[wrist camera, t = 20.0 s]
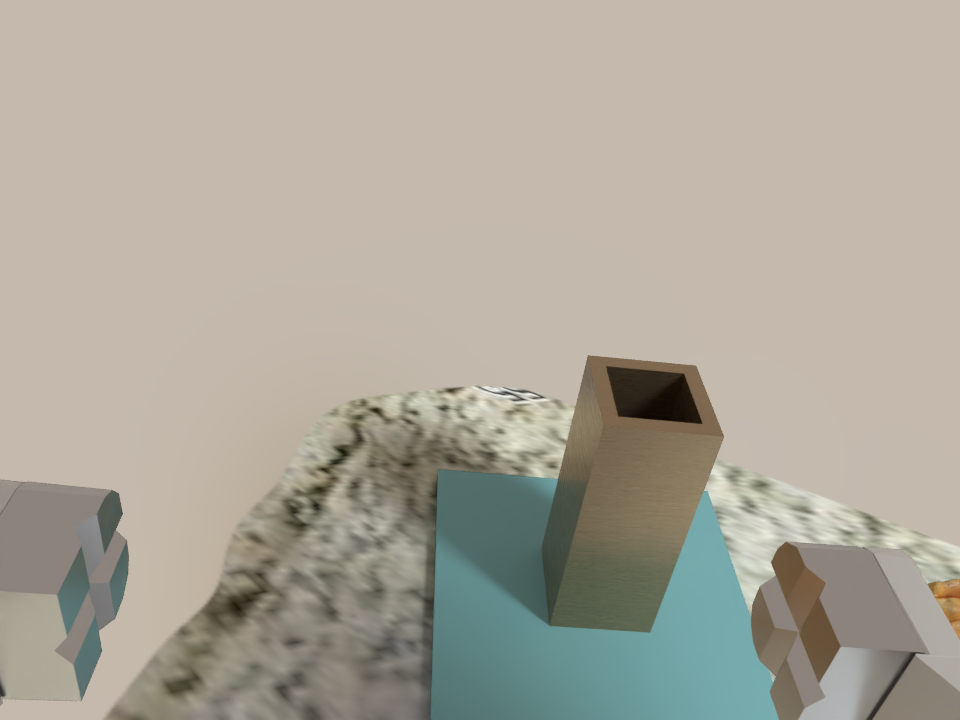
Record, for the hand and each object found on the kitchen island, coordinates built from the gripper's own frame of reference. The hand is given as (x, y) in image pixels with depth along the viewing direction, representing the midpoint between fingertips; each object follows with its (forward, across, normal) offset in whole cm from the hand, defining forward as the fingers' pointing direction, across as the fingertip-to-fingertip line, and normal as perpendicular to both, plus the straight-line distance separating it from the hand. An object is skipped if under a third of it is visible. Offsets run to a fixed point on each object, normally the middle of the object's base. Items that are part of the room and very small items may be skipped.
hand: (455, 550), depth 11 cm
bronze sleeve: (+25, -11, +29) cm, 40 cm away
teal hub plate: (+25, -11, +30) cm, 41 cm away
